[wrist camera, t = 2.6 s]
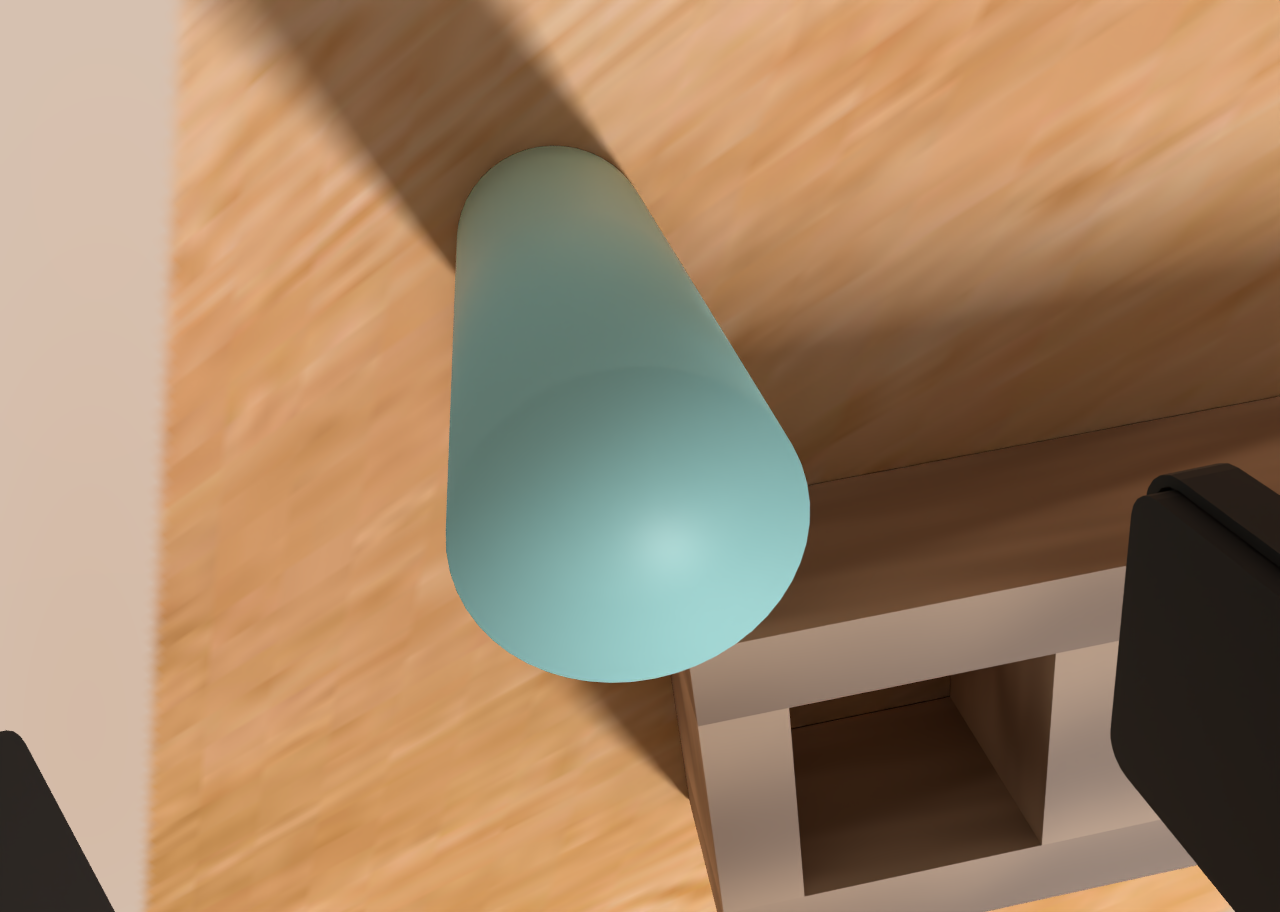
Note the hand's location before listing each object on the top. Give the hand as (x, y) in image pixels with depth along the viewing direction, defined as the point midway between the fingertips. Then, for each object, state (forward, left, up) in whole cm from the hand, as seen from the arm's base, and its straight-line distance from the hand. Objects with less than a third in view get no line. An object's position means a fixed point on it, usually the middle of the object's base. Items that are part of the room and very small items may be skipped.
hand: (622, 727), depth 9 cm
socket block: (+11, +10, -13) cm, 20 cm away
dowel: (0, 0, -13) cm, 13 cm away
